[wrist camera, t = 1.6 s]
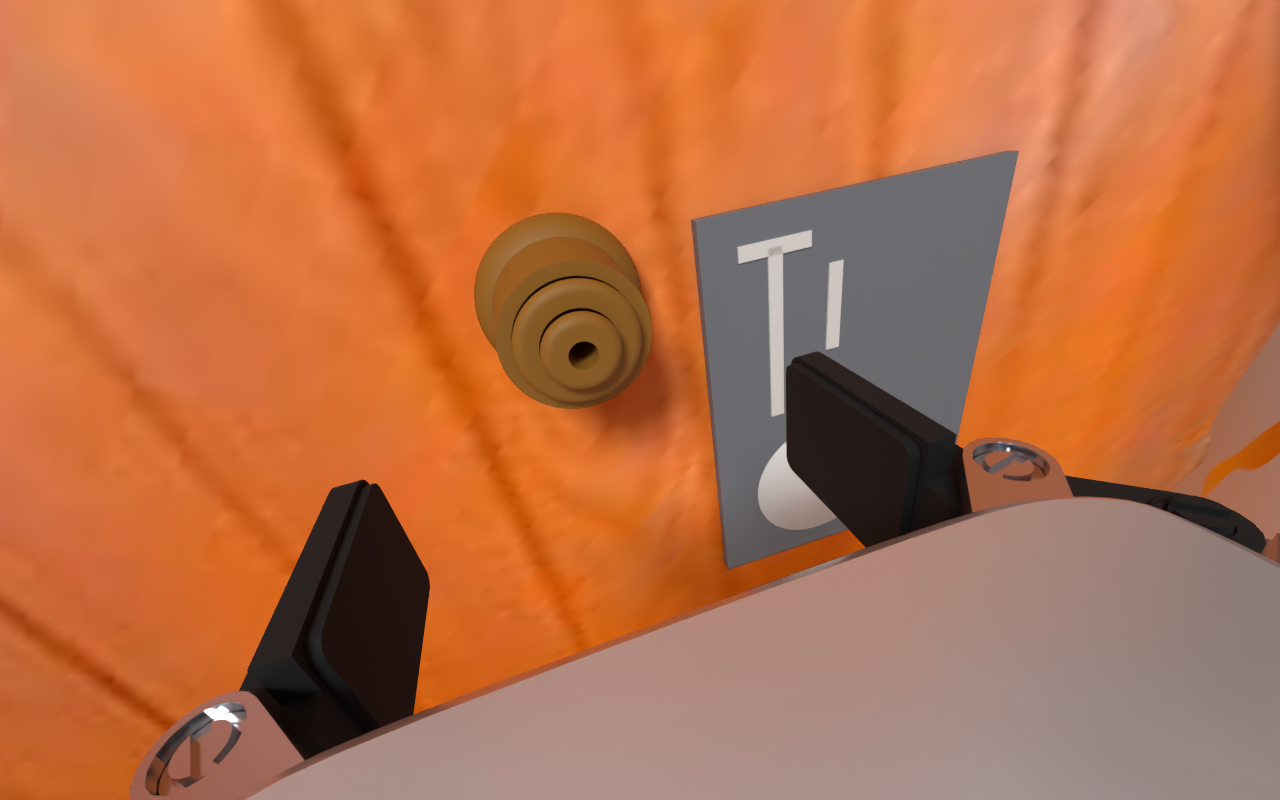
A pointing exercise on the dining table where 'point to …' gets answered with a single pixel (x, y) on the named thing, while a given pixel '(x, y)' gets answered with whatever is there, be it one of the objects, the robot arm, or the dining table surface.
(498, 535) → the dining table surface
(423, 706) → the dining table surface
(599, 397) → the ornamental finial
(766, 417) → the slate board
